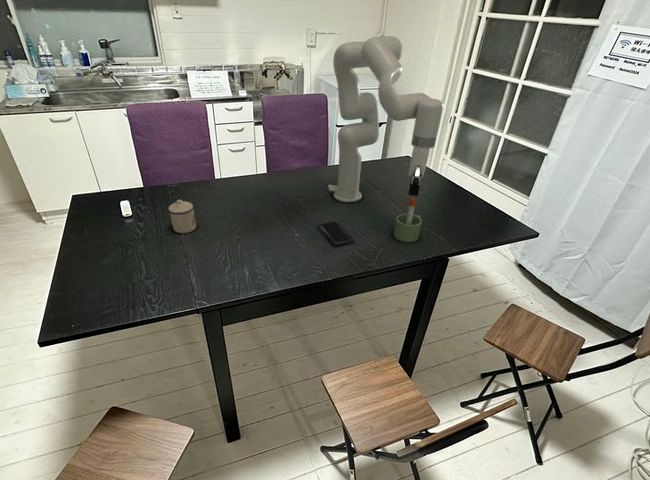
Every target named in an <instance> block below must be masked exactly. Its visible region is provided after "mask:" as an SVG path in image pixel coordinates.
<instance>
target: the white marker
mask: <svg viewBox="0 0 650 480" xmlns="http://www.w3.org/2000/svg"><path fill="white" fill-rule="evenodd" d="M416 201H417V198H415V197H411V198H409V203H408V209H407V210H408V211H407V214H408V215H407V220H406V224H407V225H411V223H412V218H413V215H414V212H415V208H416V203H417V202H416Z"/></svg>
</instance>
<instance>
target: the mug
mask: <svg viewBox="0 0 650 480" xmlns="http://www.w3.org/2000/svg"><path fill="white" fill-rule="evenodd" d="M407 215H408V213H401V214H398V215H397V216H396V218H395V223H394V230H393V237H394V238H395V239H396V240H397V241H400V242H404V243H414V242H417V241H418V240H419V238H420V237H419V236H420V233H421V228H422V225H423V224H422V222H423V220H422V217H421V215H420V214H419V215H416V214H413V218H412V223H411V225H407V224H406V220H407Z"/></svg>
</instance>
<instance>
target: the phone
mask: <svg viewBox="0 0 650 480" xmlns="http://www.w3.org/2000/svg"><path fill="white" fill-rule="evenodd" d="M318 228H319V230H320V231H321V233H322V234H323V235H324V236H325V237H326V239H327V240H328V241H329V242H330V244H331V245H332V246H335V247H337V246H338V247H339V246H342V245H347V244H352V242H353V238H352V236H351V235H350V234H349V233H348V232H347V231H346V230H345V228H343V227H342V226H341V224H340V223H339V222H338V221H336V220H333V221H329V222H328V221H327V222H323V223H319V224H318Z"/></svg>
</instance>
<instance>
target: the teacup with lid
mask: <svg viewBox="0 0 650 480" xmlns="http://www.w3.org/2000/svg"><path fill="white" fill-rule="evenodd" d="M168 212H169V216H170V220H171V225H172V228H173V231H174V232H176V233H178V234H187V233H191V232H193V231H194V230H195V229H196V228H197V222H196V216H195V210H194V205H193V204H192V202H189V201H185V200H182V199H177V200H176V201H175V202H173V203H172V204H170V205H168Z"/></svg>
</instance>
